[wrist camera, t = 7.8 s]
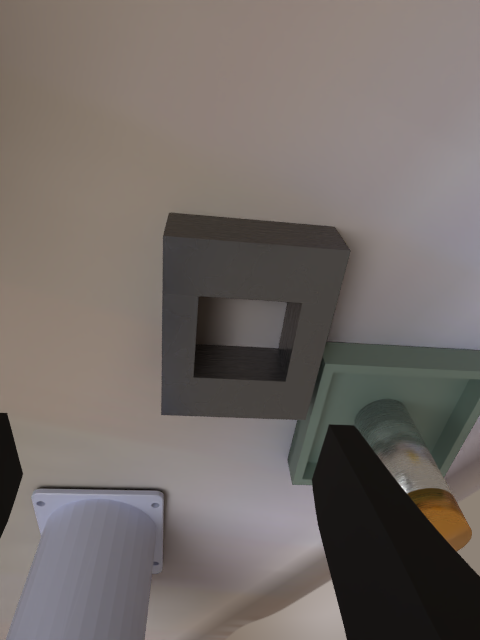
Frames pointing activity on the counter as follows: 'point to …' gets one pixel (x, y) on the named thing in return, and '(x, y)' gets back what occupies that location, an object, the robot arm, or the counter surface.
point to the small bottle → (412, 466)
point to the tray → (391, 397)
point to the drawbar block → (255, 284)
